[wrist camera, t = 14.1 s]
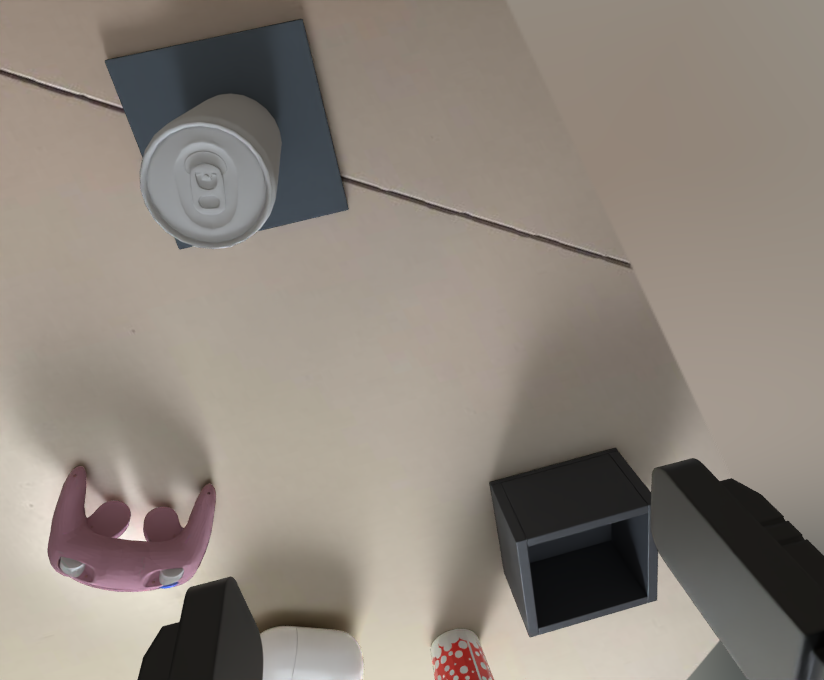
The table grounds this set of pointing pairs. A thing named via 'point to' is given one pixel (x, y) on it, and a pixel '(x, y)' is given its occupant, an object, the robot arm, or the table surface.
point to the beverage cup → (459, 657)
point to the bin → (576, 540)
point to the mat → (254, 78)
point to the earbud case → (310, 654)
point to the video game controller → (126, 541)
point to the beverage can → (213, 172)
